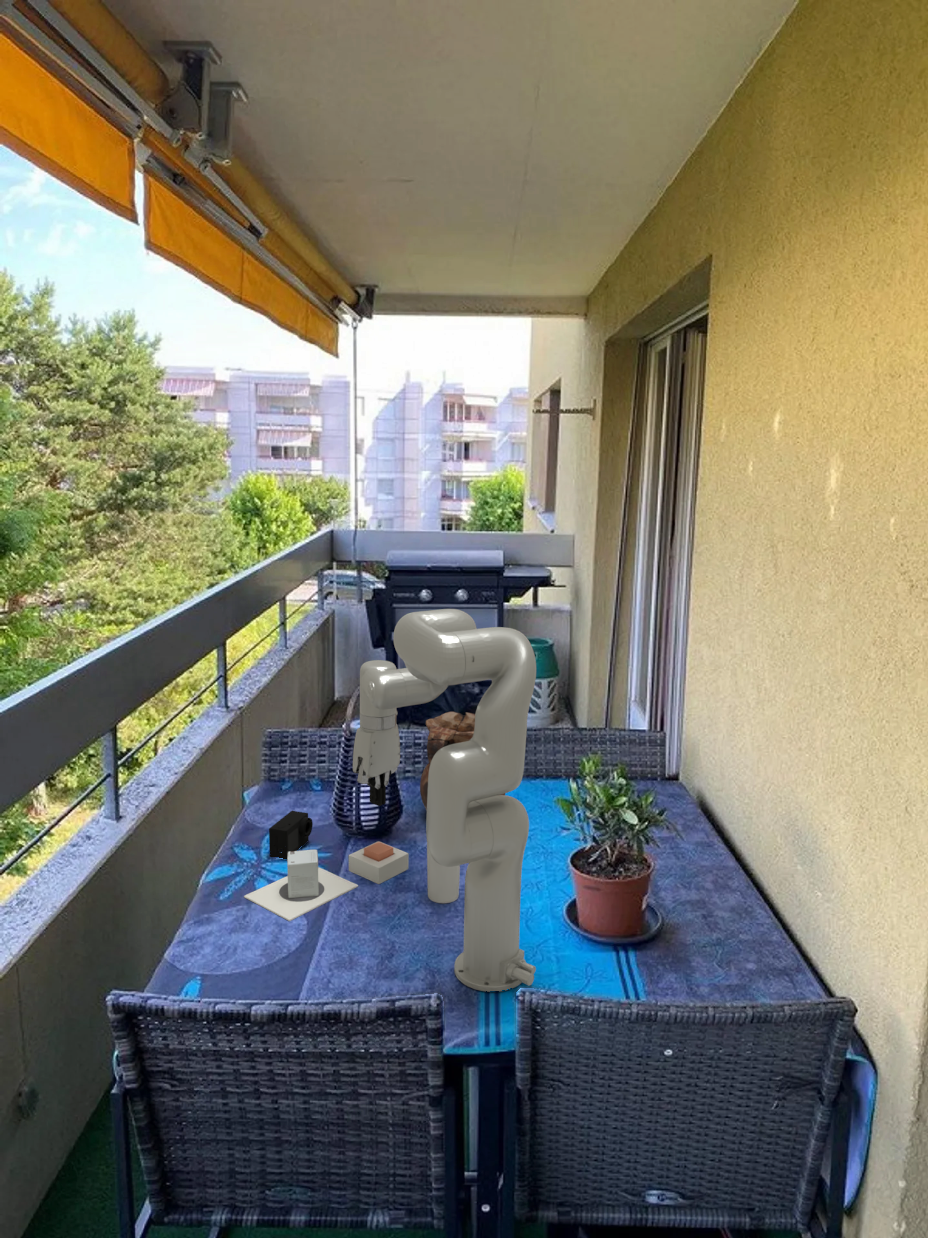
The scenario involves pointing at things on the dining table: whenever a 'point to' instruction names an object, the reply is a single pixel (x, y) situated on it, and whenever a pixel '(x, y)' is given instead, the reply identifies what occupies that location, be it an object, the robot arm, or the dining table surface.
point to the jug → (445, 739)
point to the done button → (378, 851)
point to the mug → (442, 881)
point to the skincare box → (302, 873)
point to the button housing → (378, 865)
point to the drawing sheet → (291, 908)
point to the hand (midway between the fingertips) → (377, 803)
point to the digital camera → (289, 834)
